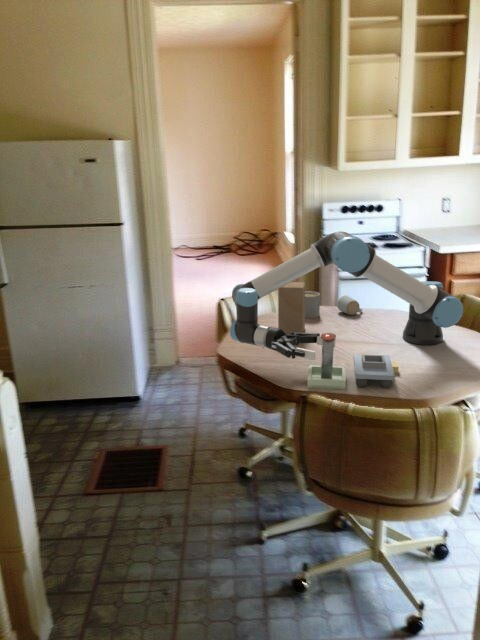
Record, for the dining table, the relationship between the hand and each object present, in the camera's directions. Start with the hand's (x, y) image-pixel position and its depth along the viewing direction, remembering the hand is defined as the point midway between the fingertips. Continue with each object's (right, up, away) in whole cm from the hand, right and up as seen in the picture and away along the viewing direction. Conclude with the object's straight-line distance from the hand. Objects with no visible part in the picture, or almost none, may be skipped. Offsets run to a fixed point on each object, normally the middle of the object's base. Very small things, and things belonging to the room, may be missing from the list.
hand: (325, 349), depth 183 cm
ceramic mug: (+23, +13, +77) cm, 81 cm away
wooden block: (-6, +5, +54) cm, 54 cm away
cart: (+18, -10, +5) cm, 21 cm away
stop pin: (+1, -10, +3) cm, 10 cm away
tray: (+1, -11, +3) cm, 11 cm away
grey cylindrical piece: (+5, +12, +76) cm, 77 cm away
